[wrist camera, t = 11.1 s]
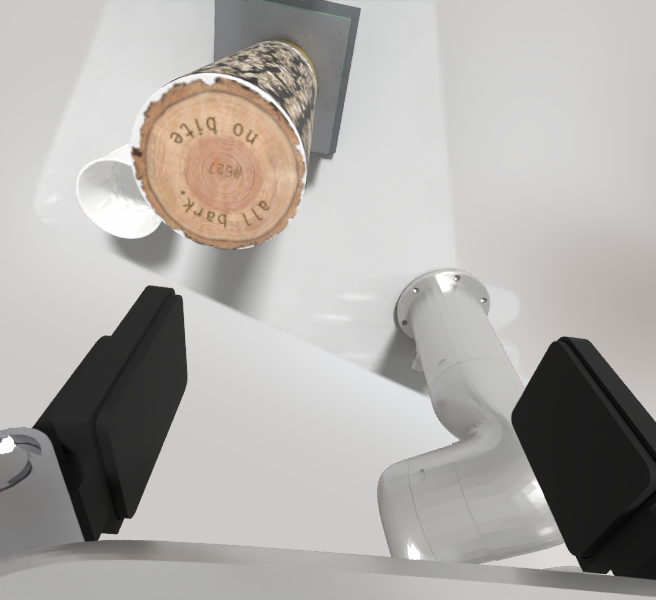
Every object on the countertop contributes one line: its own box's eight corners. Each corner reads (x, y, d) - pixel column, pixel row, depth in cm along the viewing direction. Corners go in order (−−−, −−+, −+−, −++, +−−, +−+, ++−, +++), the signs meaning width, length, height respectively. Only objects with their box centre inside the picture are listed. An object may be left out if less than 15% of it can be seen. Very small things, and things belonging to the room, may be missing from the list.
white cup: (129, 118, 44) (83, 141, 36) (200, 153, 46) (173, 183, 38) (113, 182, 48) (69, 217, 40) (180, 212, 50) (151, 251, 42)
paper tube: (309, 131, 39) (291, 263, 18) (236, 114, 38) (133, 233, 18) (324, 49, 35) (323, 99, 15) (244, 28, 34) (124, 51, 14)
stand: (335, 150, 46) (336, 166, 41) (216, 129, 44) (202, 143, 40) (359, 8, 38) (364, 7, 34) (218, -22, 37) (202, -27, 32)
